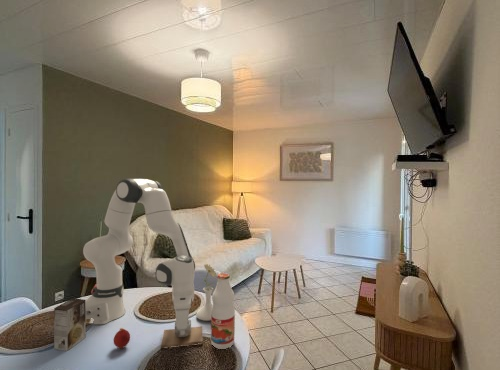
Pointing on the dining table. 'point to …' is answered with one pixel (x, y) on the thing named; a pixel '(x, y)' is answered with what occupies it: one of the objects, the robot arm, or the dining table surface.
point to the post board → (182, 338)
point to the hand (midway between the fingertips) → (183, 328)
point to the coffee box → (69, 324)
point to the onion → (121, 338)
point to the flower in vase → (207, 298)
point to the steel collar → (187, 331)
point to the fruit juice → (223, 313)
